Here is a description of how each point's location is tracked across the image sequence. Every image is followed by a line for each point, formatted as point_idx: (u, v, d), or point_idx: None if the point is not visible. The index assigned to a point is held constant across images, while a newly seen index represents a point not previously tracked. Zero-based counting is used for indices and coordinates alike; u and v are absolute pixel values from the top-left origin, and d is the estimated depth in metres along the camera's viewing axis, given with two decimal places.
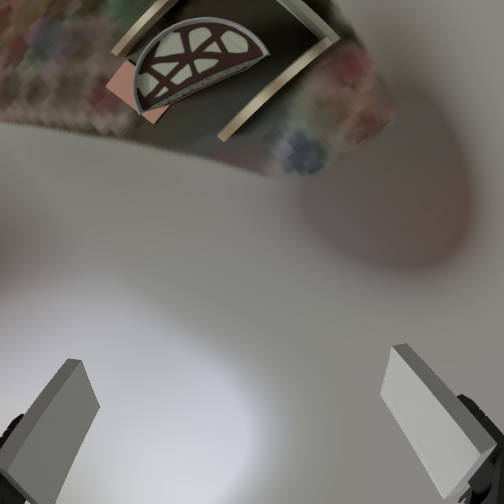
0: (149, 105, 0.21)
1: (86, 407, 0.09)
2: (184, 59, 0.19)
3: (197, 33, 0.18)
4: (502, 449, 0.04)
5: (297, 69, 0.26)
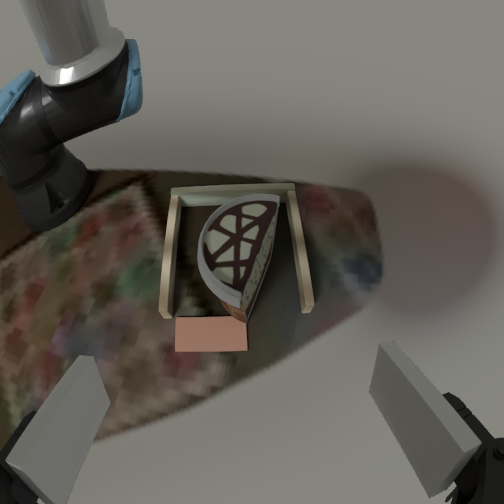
0: (242, 287, 0.24)
1: (97, 403, 0.10)
2: (235, 241, 0.27)
3: (225, 221, 0.28)
4: (487, 449, 0.04)
5: (298, 221, 0.37)
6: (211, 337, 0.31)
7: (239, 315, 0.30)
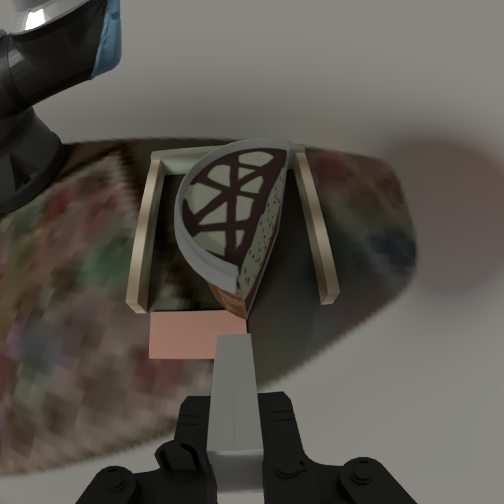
0: (239, 260, 0.16)
1: None
2: (228, 196, 0.18)
3: (216, 173, 0.19)
4: (265, 469, 0.06)
5: (312, 186, 0.28)
6: (198, 339, 0.22)
7: (236, 307, 0.21)
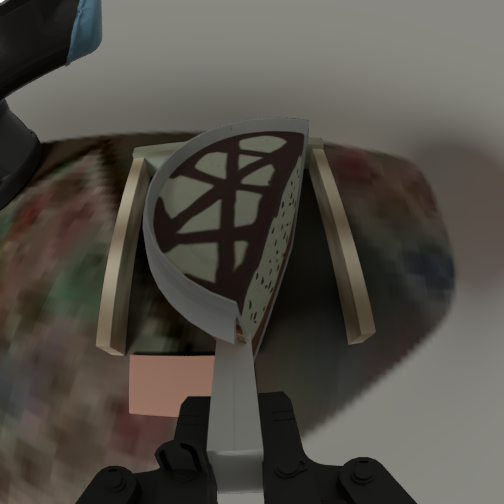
0: (239, 290, 0.09)
1: None
2: (223, 191, 0.12)
3: (206, 162, 0.14)
4: (265, 469, 0.06)
5: (334, 191, 0.22)
6: (191, 393, 0.16)
7: None
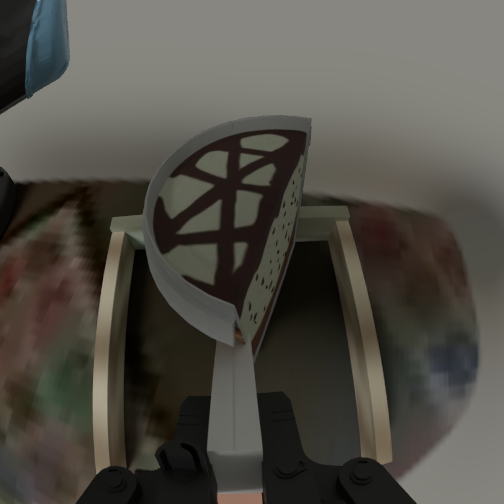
0: (238, 292, 0.09)
1: None
2: (224, 191, 0.12)
3: (207, 161, 0.13)
4: (264, 469, 0.06)
5: (362, 288, 0.17)
6: None
7: None
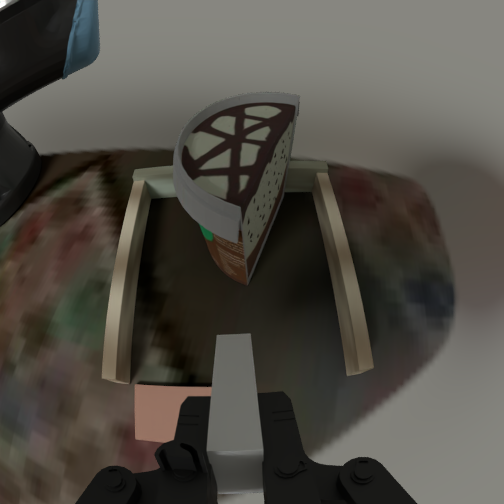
0: (242, 204, 0.14)
1: None
2: (233, 143, 0.16)
3: (220, 123, 0.17)
4: (264, 469, 0.06)
5: (338, 220, 0.22)
6: None
7: (237, 269, 0.19)
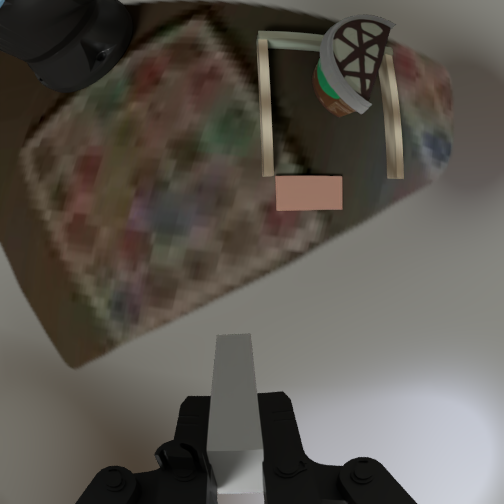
0: (368, 98, 0.22)
1: None
2: (359, 54, 0.21)
3: (348, 33, 0.21)
4: (265, 469, 0.06)
5: (395, 90, 0.28)
6: (311, 196, 0.33)
7: (340, 112, 0.29)
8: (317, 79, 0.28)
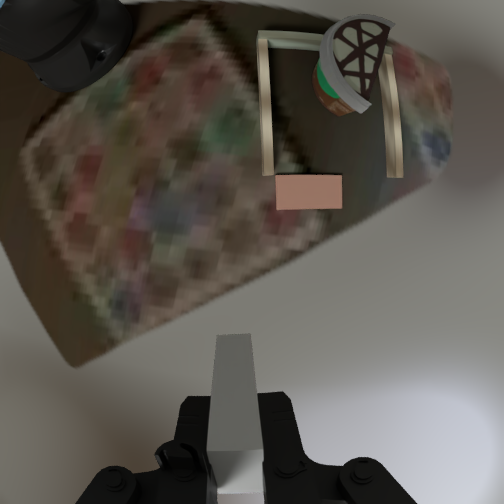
0: (368, 97, 0.23)
1: None
2: (358, 53, 0.21)
3: (347, 33, 0.21)
4: (265, 469, 0.06)
5: (395, 90, 0.28)
6: (311, 195, 0.33)
7: (340, 111, 0.29)
8: (317, 78, 0.28)
